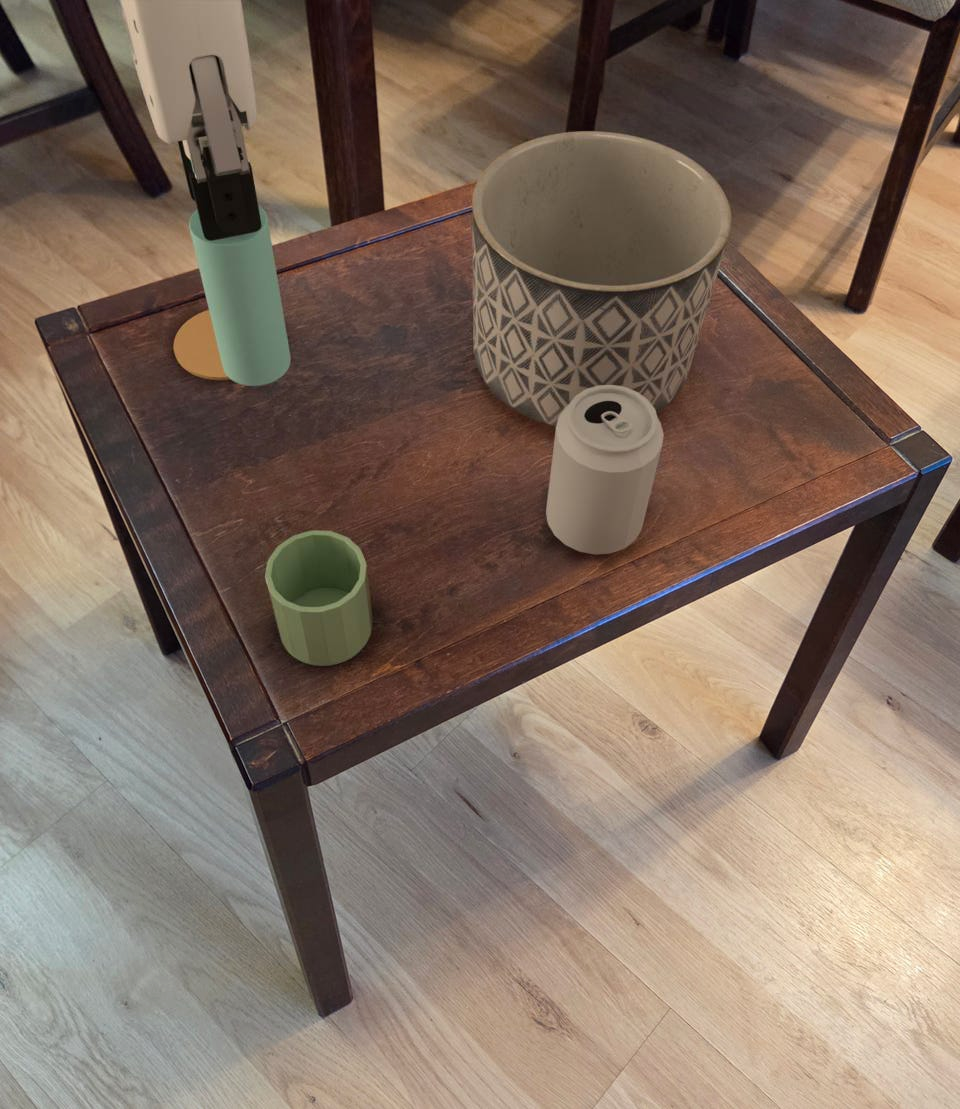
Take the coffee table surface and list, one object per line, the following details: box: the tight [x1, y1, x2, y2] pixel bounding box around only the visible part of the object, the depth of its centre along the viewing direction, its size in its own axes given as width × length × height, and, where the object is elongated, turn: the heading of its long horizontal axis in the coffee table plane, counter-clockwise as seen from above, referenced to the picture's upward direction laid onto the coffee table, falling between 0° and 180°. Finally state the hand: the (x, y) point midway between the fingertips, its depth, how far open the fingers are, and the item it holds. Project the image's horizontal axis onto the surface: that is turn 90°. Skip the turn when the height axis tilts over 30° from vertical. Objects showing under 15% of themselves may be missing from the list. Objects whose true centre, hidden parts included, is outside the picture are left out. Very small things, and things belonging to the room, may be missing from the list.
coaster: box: [173, 309, 232, 381], centre depth 92 cm, size 9×9×1 cm
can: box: [545, 385, 665, 555], centre depth 77 cm, size 8×8×12 cm
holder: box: [264, 529, 373, 667], centre depth 73 cm, size 7×7×7 cm
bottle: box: [183, 113, 292, 387], centre depth 62 cm, size 4×4×17 cm
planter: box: [471, 130, 732, 428], centre depth 85 cm, size 19×19×16 cm
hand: (225, 211), depth 59 cm, fingers closed on bottle, 3 cm apart
